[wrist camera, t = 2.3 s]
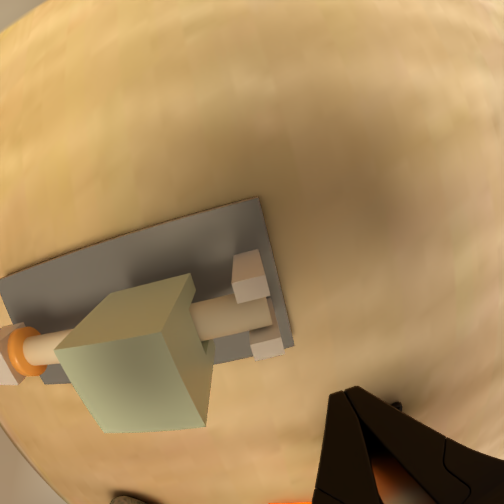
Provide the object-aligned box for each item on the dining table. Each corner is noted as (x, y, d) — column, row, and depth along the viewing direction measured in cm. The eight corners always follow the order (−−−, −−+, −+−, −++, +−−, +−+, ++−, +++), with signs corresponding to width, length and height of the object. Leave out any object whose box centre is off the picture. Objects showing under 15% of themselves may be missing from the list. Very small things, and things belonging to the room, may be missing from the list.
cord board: (257, 196, 19) (266, 205, 12) (291, 335, 21) (310, 395, 14) (6, 275, 19) (-46, 303, 12) (51, 375, 21) (17, 419, 15)
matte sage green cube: (190, 273, 16) (160, 332, 9) (215, 346, 17) (205, 426, 10) (110, 293, 16) (53, 350, 9) (139, 360, 17) (104, 433, 11)
